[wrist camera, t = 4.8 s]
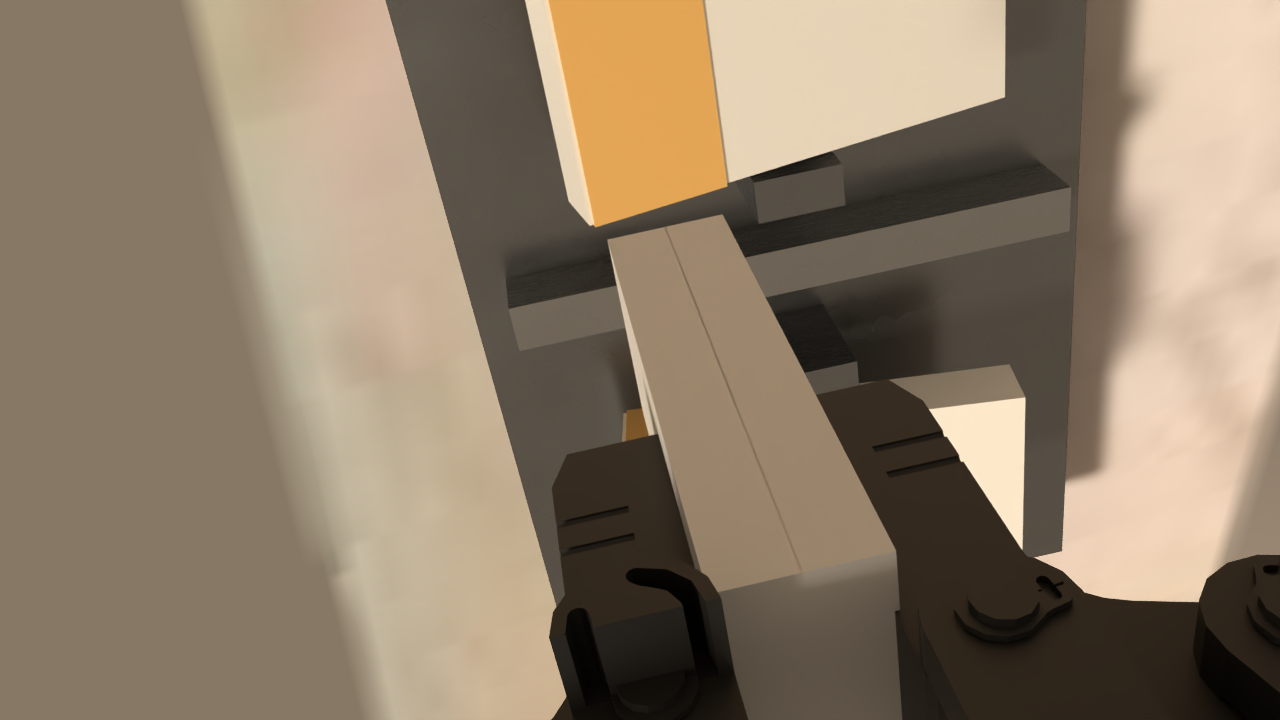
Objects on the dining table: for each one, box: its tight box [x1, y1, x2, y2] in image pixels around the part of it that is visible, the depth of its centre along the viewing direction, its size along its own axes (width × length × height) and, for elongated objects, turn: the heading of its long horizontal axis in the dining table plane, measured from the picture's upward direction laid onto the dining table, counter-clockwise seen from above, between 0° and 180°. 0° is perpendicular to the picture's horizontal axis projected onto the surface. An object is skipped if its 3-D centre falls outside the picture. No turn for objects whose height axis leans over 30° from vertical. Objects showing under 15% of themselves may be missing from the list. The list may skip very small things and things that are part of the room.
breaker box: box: [386, 0, 1086, 606], centre depth 29 cm, size 16×26×6 cm, turn 9°
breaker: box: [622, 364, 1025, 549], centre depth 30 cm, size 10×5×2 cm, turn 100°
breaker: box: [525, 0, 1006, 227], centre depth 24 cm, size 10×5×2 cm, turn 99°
